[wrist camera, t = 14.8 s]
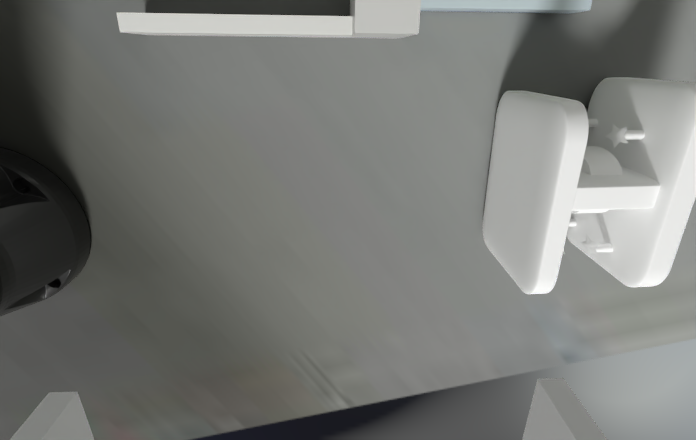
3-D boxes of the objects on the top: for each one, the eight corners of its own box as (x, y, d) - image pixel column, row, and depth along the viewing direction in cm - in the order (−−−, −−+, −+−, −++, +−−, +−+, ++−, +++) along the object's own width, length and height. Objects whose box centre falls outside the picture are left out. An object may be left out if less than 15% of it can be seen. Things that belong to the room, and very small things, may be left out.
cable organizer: (495, 78, 34) (571, 89, 23) (616, 75, 34) (748, 85, 23) (476, 236, 39) (529, 305, 29) (579, 233, 40) (671, 299, 29)
